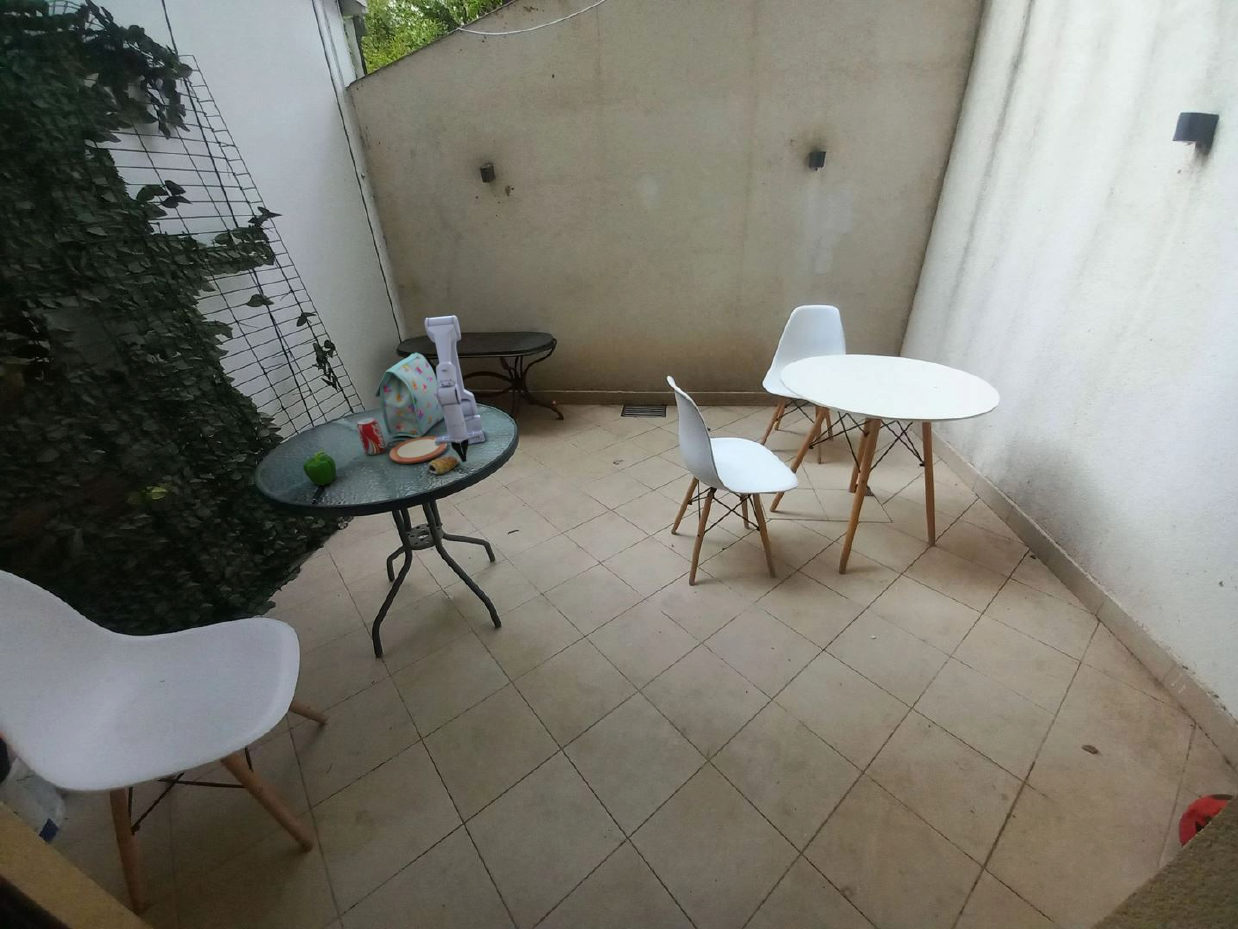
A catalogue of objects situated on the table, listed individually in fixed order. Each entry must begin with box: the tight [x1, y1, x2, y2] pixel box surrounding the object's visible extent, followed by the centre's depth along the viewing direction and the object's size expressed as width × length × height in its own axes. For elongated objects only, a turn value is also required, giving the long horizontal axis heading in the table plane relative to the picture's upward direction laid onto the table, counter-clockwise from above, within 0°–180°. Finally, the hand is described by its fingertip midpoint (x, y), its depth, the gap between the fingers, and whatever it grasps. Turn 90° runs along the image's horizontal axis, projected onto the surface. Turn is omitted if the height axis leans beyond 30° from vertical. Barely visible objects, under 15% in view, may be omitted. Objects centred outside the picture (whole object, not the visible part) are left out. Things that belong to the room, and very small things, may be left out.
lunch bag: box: [374, 352, 444, 439], centre depth 181 cm, size 23×16×27 cm
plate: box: [389, 436, 448, 465], centre depth 167 cm, size 19×19×2 cm
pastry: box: [426, 456, 459, 475], centre depth 155 cm, size 9×7×4 cm
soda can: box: [356, 416, 387, 456], centre depth 167 cm, size 7×7×12 cm
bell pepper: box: [302, 450, 337, 486], centre depth 150 cm, size 8×8×10 cm
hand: (464, 460), depth 156 cm, fingers closed
